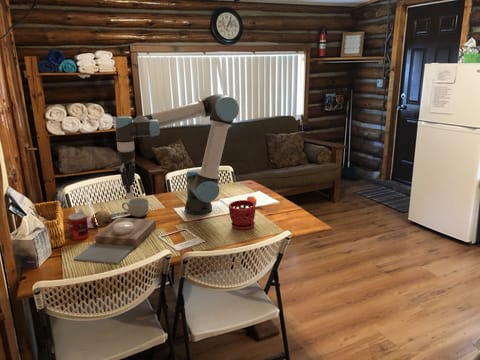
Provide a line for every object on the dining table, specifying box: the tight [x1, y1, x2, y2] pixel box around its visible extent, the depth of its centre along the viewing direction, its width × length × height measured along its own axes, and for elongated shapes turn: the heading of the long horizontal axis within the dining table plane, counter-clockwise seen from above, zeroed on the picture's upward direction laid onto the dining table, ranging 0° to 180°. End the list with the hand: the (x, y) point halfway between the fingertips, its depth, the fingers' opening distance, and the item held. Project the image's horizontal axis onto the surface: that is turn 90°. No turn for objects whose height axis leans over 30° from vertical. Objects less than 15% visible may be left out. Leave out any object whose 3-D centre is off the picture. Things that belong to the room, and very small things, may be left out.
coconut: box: [90, 210, 113, 227], centre depth 200 cm, size 10×10×8 cm
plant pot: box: [228, 199, 256, 231], centre depth 194 cm, size 13×13×12 cm
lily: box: [69, 207, 95, 229], centre depth 192 cm, size 12×12×10 cm
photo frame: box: [158, 228, 206, 252], centre depth 181 cm, size 15×1×18 cm
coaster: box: [113, 222, 134, 234], centre depth 182 cm, size 9×9×2 cm
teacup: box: [121, 197, 150, 218], centre depth 210 cm, size 14×11×8 cm
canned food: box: [67, 212, 90, 242], centre depth 183 cm, size 8×8×11 cm
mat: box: [73, 242, 135, 265], centre depth 168 cm, size 20×15×1 cm
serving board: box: [94, 217, 157, 248], centre depth 186 cm, size 20×22×4 cm
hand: (130, 198), depth 187 cm, fingers closed
